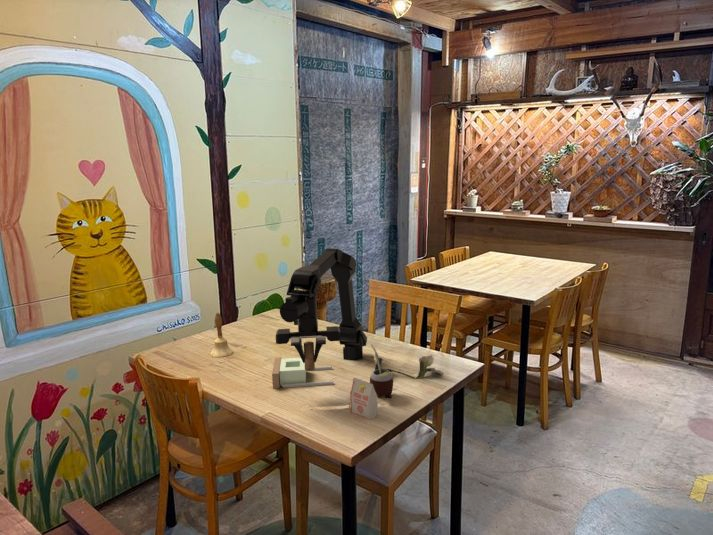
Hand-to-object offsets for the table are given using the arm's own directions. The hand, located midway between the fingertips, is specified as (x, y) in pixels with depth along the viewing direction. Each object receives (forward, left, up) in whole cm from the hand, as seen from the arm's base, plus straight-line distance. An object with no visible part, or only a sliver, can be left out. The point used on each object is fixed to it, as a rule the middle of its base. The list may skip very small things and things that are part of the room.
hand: (309, 362), depth 154 cm
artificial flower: (-32, -13, -12) cm, 37 cm away
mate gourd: (-21, +1, -12) cm, 24 cm away
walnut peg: (0, 0, -2) cm, 2 cm away
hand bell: (+34, -42, -12) cm, 55 cm away
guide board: (+2, -13, -12) cm, 18 cm away
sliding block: (+6, -13, -11) cm, 18 cm away
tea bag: (-15, +11, -12) cm, 22 cm away
